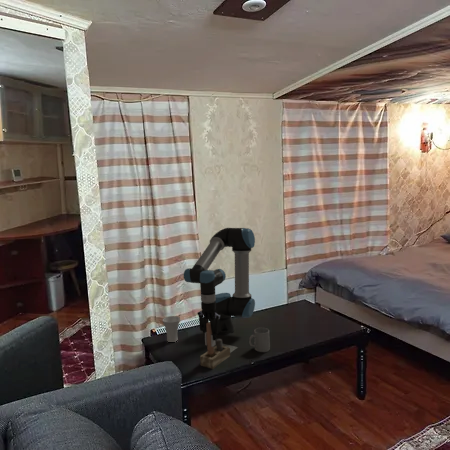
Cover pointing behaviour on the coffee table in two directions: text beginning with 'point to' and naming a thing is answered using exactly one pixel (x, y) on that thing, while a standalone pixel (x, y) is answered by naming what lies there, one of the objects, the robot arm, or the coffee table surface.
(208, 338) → the dowel
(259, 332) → the mug
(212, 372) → the coffee table surface
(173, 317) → the cup
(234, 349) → the mat
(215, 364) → the socket block
